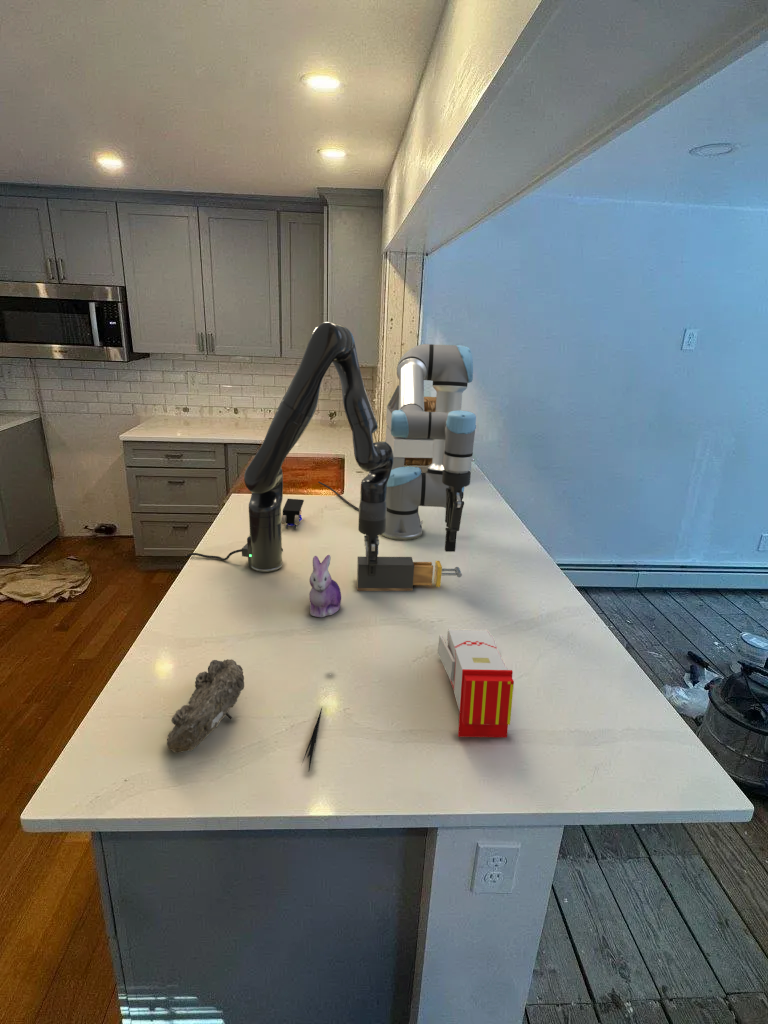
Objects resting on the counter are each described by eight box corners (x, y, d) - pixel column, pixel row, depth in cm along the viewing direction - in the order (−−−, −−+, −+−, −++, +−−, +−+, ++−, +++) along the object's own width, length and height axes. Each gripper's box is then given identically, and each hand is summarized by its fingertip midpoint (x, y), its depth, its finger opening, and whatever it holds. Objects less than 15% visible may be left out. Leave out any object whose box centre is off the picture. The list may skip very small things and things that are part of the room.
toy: (488, 613, 130) (523, 677, 101) (484, 667, 133) (517, 744, 104) (435, 612, 130) (455, 676, 101) (432, 666, 133) (451, 743, 103)
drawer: (458, 580, 166) (459, 560, 164) (461, 587, 162) (463, 567, 159) (388, 580, 164) (389, 560, 162) (389, 587, 160) (390, 566, 158)
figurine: (314, 622, 141) (314, 568, 136) (300, 603, 150) (300, 551, 145) (349, 614, 146) (350, 561, 141) (333, 597, 154) (334, 546, 149)
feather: (331, 679, 122) (336, 673, 122) (307, 777, 96) (313, 769, 95) (324, 675, 122) (329, 669, 121) (298, 772, 95) (304, 764, 95)
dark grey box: (410, 581, 165) (411, 556, 163) (412, 590, 160) (414, 565, 157) (356, 581, 164) (357, 556, 161) (357, 590, 159) (358, 564, 156)
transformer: (382, 463, 289) (386, 382, 275) (445, 464, 293) (451, 384, 279) (390, 482, 257) (394, 392, 243) (460, 483, 261) (468, 394, 247)
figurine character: (300, 535, 198) (304, 515, 212) (299, 515, 195) (304, 497, 208) (280, 534, 198) (286, 515, 211) (279, 515, 195) (286, 496, 208)
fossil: (192, 660, 117) (244, 628, 112) (224, 691, 120) (276, 661, 115) (142, 746, 98) (202, 712, 93) (182, 779, 101) (242, 748, 96)
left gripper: (388, 524, 148) (385, 580, 153) (384, 506, 161) (381, 558, 167) (359, 524, 147) (358, 580, 153) (357, 506, 161) (356, 558, 166)
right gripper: (476, 477, 146) (467, 560, 154) (465, 463, 158) (458, 541, 166) (447, 476, 145) (440, 560, 153) (439, 463, 158) (432, 541, 166)
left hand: (370, 568), depth 160 cm, fingers open, 8 cm apart
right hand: (449, 550), depth 160 cm, fingers closed
